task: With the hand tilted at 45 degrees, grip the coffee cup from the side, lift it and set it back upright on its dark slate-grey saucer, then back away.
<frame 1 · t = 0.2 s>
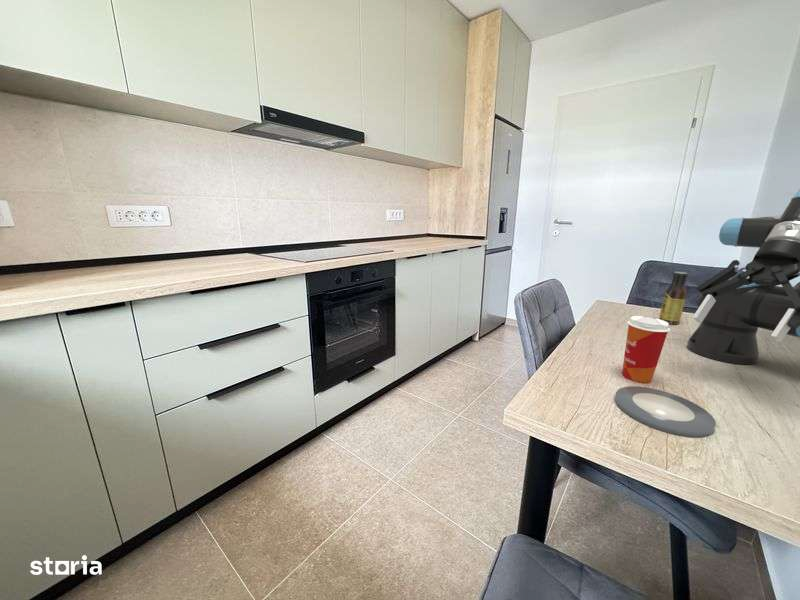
hand: (732, 329, 71), 15 cm above the table, tool tilted 35°, fingers open, 13 cm apart
saucer: (660, 411, 66), on the table
coffee cup: (636, 378, 80), on the table
sauce bottle: (668, 323, 125), on the table
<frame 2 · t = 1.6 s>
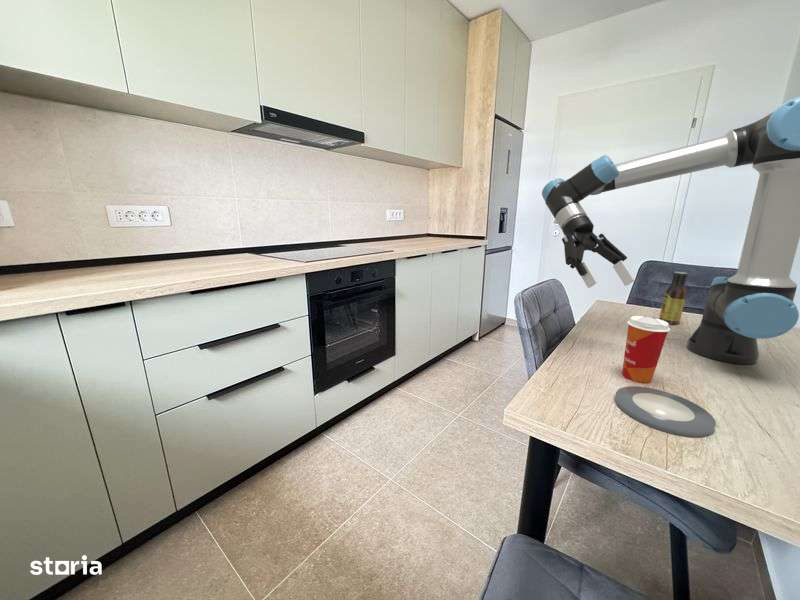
hand: (612, 284, 85), 22 cm above the table, tool tilted 45°, fingers open, 13 cm apart
nothing on the table moved.
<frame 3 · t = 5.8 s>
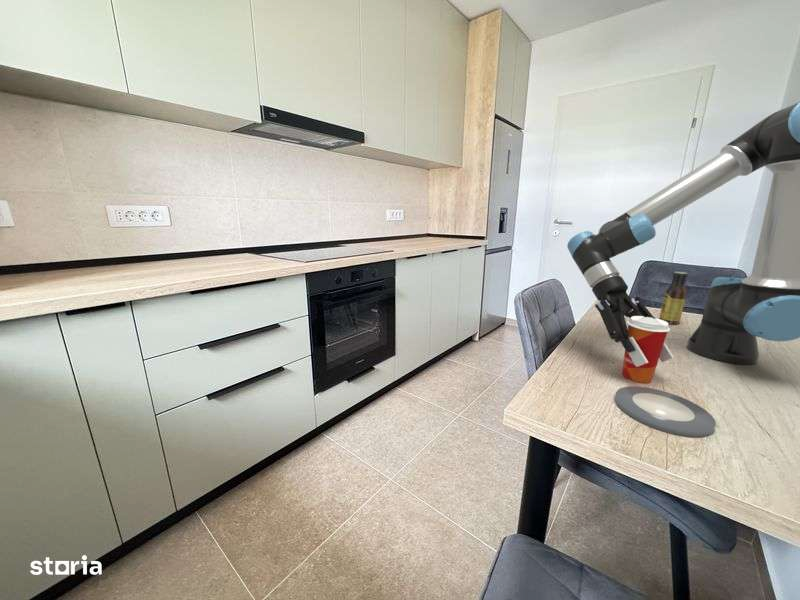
hand: (655, 362, 76), 6 cm above the table, tool tilted 45°, fingers closed on coffee cup, 8 cm apart
coffee cup: (636, 378, 80), on the table, touching gripper
everything else where it was.
when the fingers open (8 cm above the table, at t = 13.3 s): coffee cup drops 1 cm, resting on saucer.
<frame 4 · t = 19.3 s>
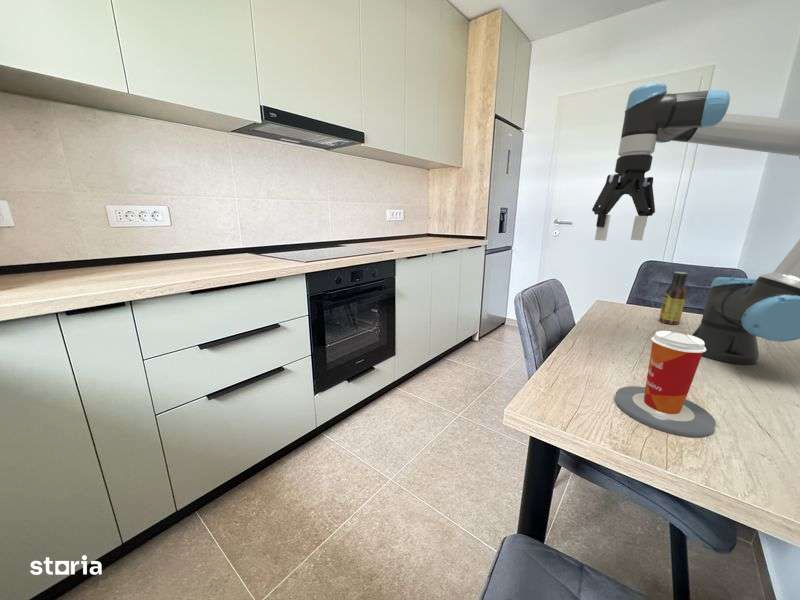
hand: (618, 240, 87), 33 cm above the table, tool pointing down, fingers open, 13 cm apart
coffee cup: (661, 406, 66), point 1 cm above the table, touching saucer
everything else where it was.
at the end: coffee cup 0.1 cm from the saucer (horizontally); coffee cup point 1.1 cm above the table; coffee cup tilted 0° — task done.
